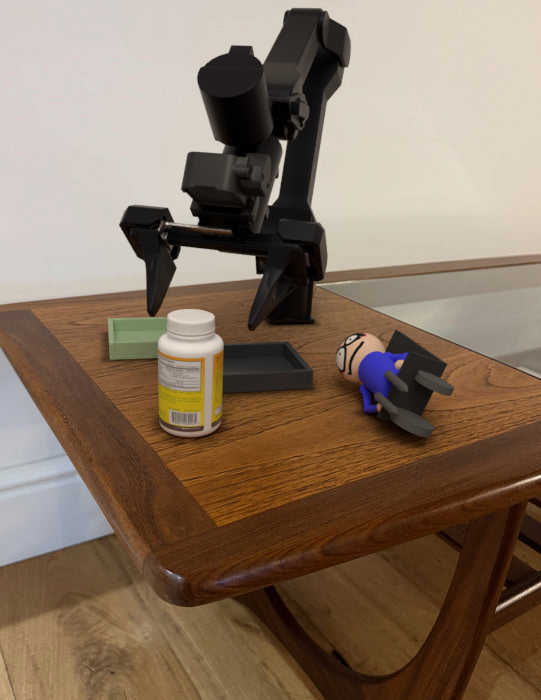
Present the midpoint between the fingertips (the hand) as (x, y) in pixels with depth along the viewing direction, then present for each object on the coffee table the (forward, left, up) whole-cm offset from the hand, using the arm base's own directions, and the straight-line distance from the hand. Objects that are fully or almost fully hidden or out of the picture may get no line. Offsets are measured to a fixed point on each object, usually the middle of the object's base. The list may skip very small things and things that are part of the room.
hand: (199, 321), depth 53 cm
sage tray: (+2, -20, -9) cm, 22 cm away
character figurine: (-18, +2, -9) cm, 20 cm away
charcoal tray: (-7, -9, -9) cm, 15 cm away
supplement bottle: (+1, +2, -9) cm, 9 cm away
